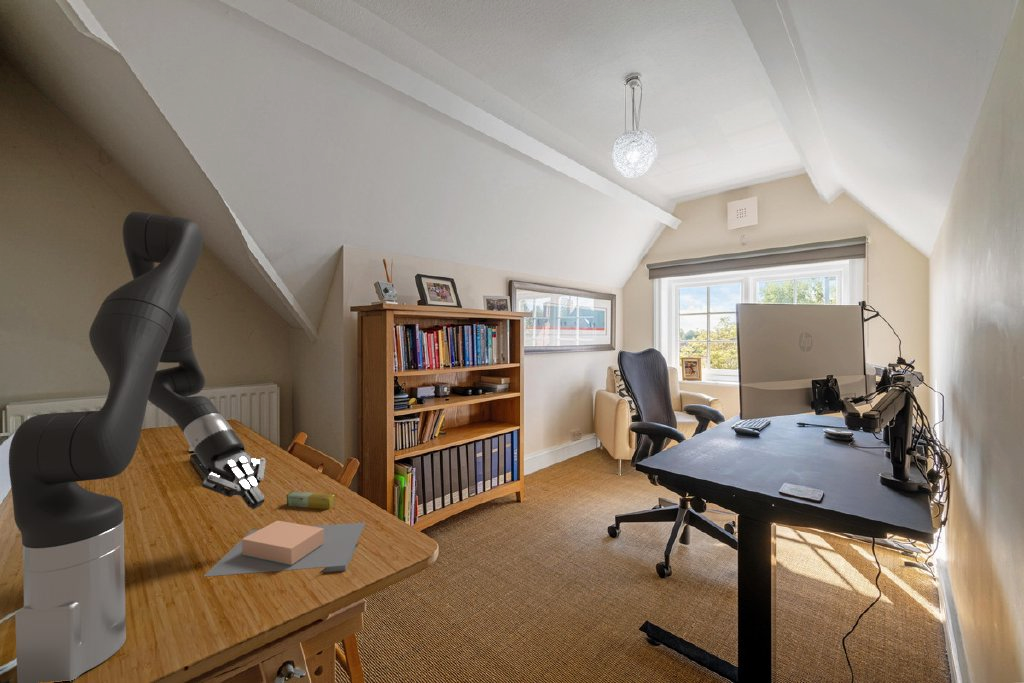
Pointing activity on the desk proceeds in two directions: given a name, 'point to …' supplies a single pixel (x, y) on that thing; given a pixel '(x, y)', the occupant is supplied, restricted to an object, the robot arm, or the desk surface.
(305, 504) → the medication box
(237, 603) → the desk surface
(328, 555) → the slate mat
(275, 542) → the salmon pink box
